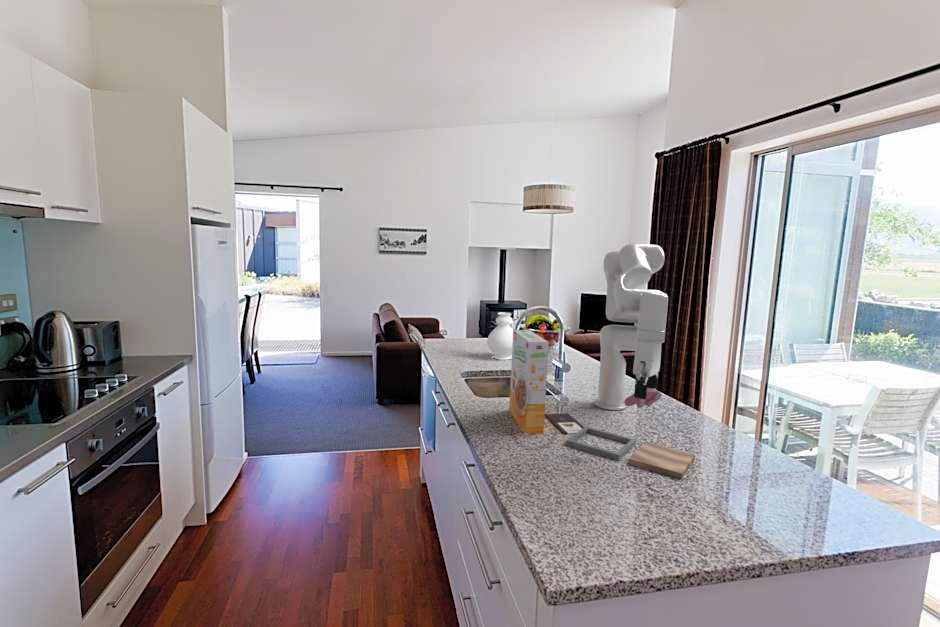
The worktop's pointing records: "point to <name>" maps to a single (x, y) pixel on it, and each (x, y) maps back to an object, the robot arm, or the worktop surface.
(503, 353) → the decorative vase
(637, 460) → the walnut board
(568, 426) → the chocolate bar
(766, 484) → the worktop surface
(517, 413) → the cereal box
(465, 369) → the worktop surface
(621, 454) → the frame
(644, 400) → the video game controller
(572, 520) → the worktop surface
